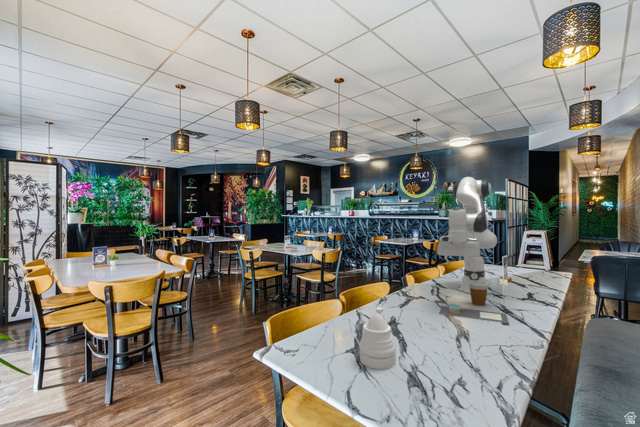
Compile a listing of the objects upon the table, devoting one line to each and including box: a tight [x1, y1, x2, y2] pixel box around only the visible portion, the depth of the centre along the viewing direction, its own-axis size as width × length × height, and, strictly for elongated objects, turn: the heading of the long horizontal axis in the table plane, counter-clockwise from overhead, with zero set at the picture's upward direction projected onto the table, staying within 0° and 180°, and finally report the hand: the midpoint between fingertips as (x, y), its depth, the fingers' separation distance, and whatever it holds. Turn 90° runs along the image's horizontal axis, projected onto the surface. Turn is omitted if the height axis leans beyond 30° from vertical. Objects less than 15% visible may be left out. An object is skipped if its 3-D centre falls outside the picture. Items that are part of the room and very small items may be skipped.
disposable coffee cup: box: [469, 282, 489, 307], centre depth 165 cm, size 10×10×12 cm
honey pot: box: [359, 306, 397, 370], centre depth 108 cm, size 13×13×18 cm
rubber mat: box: [438, 305, 510, 326], centre depth 150 cm, size 14×30×1 cm, turn 63°
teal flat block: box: [448, 304, 461, 314], centre depth 153 cm, size 7×5×2 cm
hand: (458, 264), depth 155 cm, fingers open, 8 cm apart
